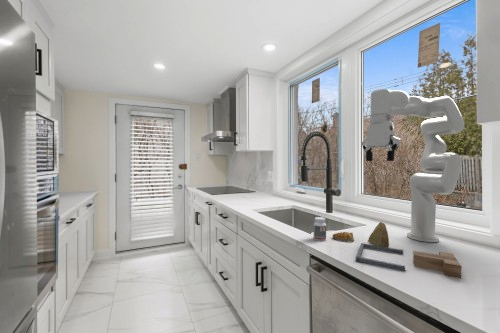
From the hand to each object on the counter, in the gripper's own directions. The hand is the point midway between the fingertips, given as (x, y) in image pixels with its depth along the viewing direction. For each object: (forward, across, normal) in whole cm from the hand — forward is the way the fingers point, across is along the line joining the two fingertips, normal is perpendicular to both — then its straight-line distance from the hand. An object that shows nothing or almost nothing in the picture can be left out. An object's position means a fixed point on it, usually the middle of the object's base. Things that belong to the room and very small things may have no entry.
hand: (379, 160), depth 102 cm
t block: (+37, -21, -2) cm, 42 cm away
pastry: (+38, +14, +4) cm, 40 cm away
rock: (+37, +2, -4) cm, 37 cm away
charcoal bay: (+37, -7, +7) cm, 38 cm away
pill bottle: (+37, +19, +14) cm, 44 cm away
